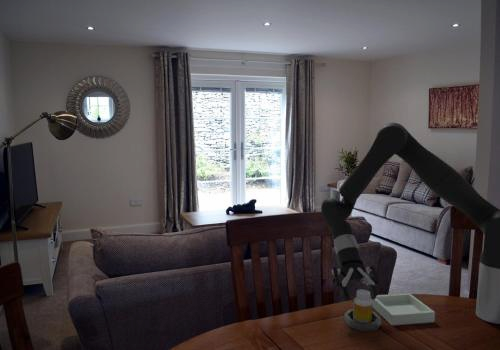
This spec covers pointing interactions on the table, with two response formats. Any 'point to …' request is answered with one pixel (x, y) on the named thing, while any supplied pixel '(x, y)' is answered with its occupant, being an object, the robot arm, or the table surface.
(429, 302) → the table surface
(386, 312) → the tray
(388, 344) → the table surface
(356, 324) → the holder ring
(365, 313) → the supplement bottle
